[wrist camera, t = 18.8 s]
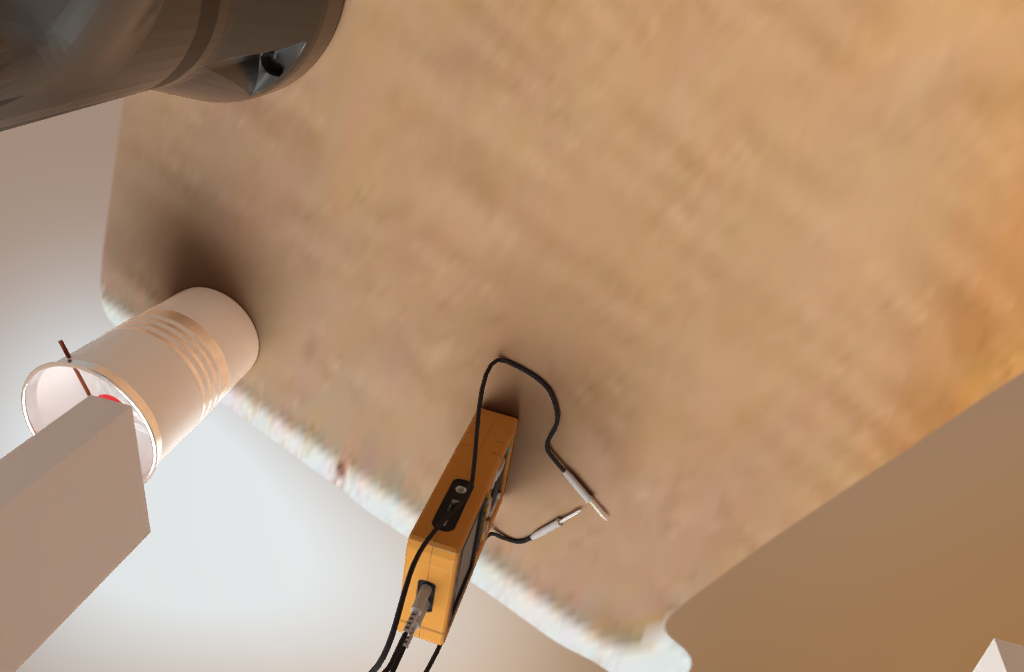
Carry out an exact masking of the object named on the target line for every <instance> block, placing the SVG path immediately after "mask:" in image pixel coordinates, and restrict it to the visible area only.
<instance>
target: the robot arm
mask: <svg viewBox="0 0 1024 672" xmlns="http://www.w3.org/2000/svg"><path fill="white" fill-rule="evenodd" d="M343 2H344V0H0V132H1V131H4V130H8V129H11V128H15V127H18V126H22V125H26V124H29V123H33V122H36V121H40V120H43V119H47V118H51V117H54V116H57V115H61V114H65V113H68V112H72V111H75V110H79V109H83V108H86V107H90V106H93V105H97V104H101V103H104V102H108V101H111V100H115V99H118V98H122V97H126V96H129V95H133V94H136V93H139V92H143V91H147V90H154V91H159V92H163V93H168V94H173V95H177V96H182V97H186V98H191V99H195V100H200V101H207V102H218V103H219V102H238V101H244V100H249V99H253V98H256V97H259V96H262V95H265V94H268V93H271V92H274V91H276V90H279V89H281V88H283V87H285V86H287V85H289V84H291V83H293V82H294V81H296V80H297V79H299V78H300V77H301V76H302V75H304V74H305V73H306V72H307V71H308V70H309V69H310V68H311V67H312V66H313V65H314V64H315V63H316V61H317V60H318V59H319V58H320V56H321V55H322V54H323V52H324V51H325V49H326V47H327V46H328V44H329V42H330V40H331V38H332V36H333V34H334V32H335V29H336V27H337V24H338V21H339V18H340V15H341V11H342V7H343ZM149 533H150V525H149V519H148V512H147V505H146V498H145V491H144V485H143V478H142V471H141V464H140V457H139V451H138V444H137V437H136V430H135V423H134V417H133V410H132V406H131V405H127V404H123V403H119V402H116V401H112V400H108V399H105V398H101V397H97V396H94V395H89V396H88V397H86V398H85V399H84V400H82V401H81V402H79V403H78V404H77V405H75V406H74V407H73V408H71V409H70V410H68V411H67V412H66V413H64V414H63V415H61V416H60V417H59V418H57V419H56V420H54V421H53V422H52V423H50V424H49V425H47V426H46V427H45V428H43V429H42V430H41V431H39V432H38V433H36V434H35V435H34V436H32V437H31V438H29V439H28V440H27V441H25V442H24V443H23V444H21V445H20V446H18V447H17V448H15V449H14V450H13V451H11V452H10V453H9V454H7V455H6V456H4V457H3V458H2V459H0V672H15V671H16V670H17V669H18V668H19V667H20V666H21V665H22V664H23V663H24V662H25V661H26V660H27V659H28V658H29V657H30V656H31V655H32V654H33V653H34V652H35V650H36V649H37V648H38V647H39V646H40V645H41V644H42V643H43V642H44V641H45V640H46V639H47V638H48V637H49V636H50V635H51V634H52V633H53V632H54V631H55V630H56V629H57V628H58V627H59V626H60V625H61V624H62V623H63V622H64V621H65V620H66V618H68V617H69V615H70V614H71V613H72V612H73V611H74V610H75V609H76V608H77V607H78V606H79V605H80V604H81V603H82V602H83V601H84V600H85V599H86V598H87V597H88V596H89V595H90V594H91V593H92V592H93V591H94V590H95V589H96V588H97V586H99V584H101V583H102V582H103V581H104V579H105V578H106V577H107V576H108V575H109V574H110V573H111V572H112V571H113V570H114V569H115V568H116V567H117V566H118V565H119V564H120V563H121V562H122V561H123V560H124V559H125V558H126V557H127V556H128V555H129V554H130V553H131V552H132V550H134V549H135V548H136V547H137V545H138V544H139V543H140V542H141V541H142V540H143V539H144V538H145V537H146V536H147V535H148V534H149ZM973 672H1024V646H1021V645H1017V644H1014V643H1010V642H1006V641H1003V640H999V639H995V638H994V639H993V641H992V642H991V644H990V645H989V647H988V649H987V650H986V652H985V654H984V655H983V657H982V658H981V660H980V661H979V663H978V664H977V666H976V667H975V669H974V671H973Z"/></svg>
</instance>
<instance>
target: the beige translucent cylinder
mask: <svg viewBox="0 0 1024 672" xmlns="http://www.w3.org/2000/svg"><path fill="white" fill-rule="evenodd" d="M59 344H60V346H61V347H62V349H63V351H64V353H65V355H66V357H64V358H62V359H60V360H58V361H57V362H51V363H47V364H44V365H41V366H39V367H37V368H36V369H34V370H33V371H32V372H31V373H30V374H29V375H28V377H27V378H26V380H25V382H24V385H23V388H22V396H21V400H22V401H21V402H22V409H23V414H24V417H25V420H26V422H27V425H28V427H29V429H30V431H31V433H32V435H33V436H34V435H35V434H36V433H38V432H39V431H41V430H42V429H43V428H45V427H46V426H47V425H49V424H50V423H52V422H53V421H54V420H56V419H57V418H59V417H60V416H61V415H63V414H64V413H66V412H67V411H68V410H70V409H71V408H73V407H74V406H75V405H77V404H78V403H79V402H81V401H82V400H84V399H85V398H86V397H88V396H89V395H94V396H97V397H101V398H105V399H108V400H112V401H116V402H119V403H123V404H127V405H131V406H132V410H133V417H134V423H135V430H136V437H137V444H138V451H139V457H140V464H141V471H142V478H143V484H145V483H146V482H147V481H148V480H149V479H150V478H151V476H152V475H153V473H154V471H155V469H156V466H157V465H158V464H159V463H160V462H161V461H162V460H163V458H165V457H166V455H167V454H168V453H169V452H170V451H171V450H172V449H173V448H174V447H175V446H176V445H177V444H178V443H179V442H180V441H181V440H182V439H183V438H185V437H186V436H187V435H188V434H189V433H190V432H191V431H192V430H193V429H194V428H195V427H196V426H197V425H198V424H199V423H200V422H201V421H202V420H203V419H204V418H205V417H206V416H207V415H208V414H209V412H211V411H212V410H213V409H214V408H215V406H216V405H217V404H218V403H219V402H220V400H221V399H222V398H223V397H224V396H225V395H226V394H227V393H228V392H229V391H230V390H231V389H232V388H233V386H234V385H235V384H236V383H237V382H238V381H239V380H240V379H241V378H242V377H243V376H244V375H245V374H246V373H247V372H248V371H249V370H250V369H251V368H252V366H253V365H254V363H255V361H256V359H257V357H258V352H259V340H258V335H257V332H256V329H255V327H254V324H253V322H252V321H251V319H250V317H249V316H248V314H247V313H246V312H245V311H244V309H243V308H242V307H241V306H240V305H239V304H238V303H236V302H235V301H234V300H233V299H231V298H230V297H229V296H227V295H225V294H223V293H221V292H219V291H217V290H214V289H211V288H206V287H193V288H188V289H186V290H183V291H181V292H179V293H177V294H176V295H174V296H172V297H170V298H168V299H167V300H165V301H163V302H161V303H160V304H158V305H156V306H154V307H152V308H150V309H149V310H147V311H145V312H143V313H141V314H139V315H137V316H135V317H133V318H131V319H129V320H127V321H126V322H124V323H122V324H120V325H119V326H117V327H115V328H113V329H112V330H110V331H108V332H106V333H104V334H102V335H101V336H99V337H98V338H96V339H95V340H93V341H92V342H90V343H88V344H87V345H85V346H83V347H81V348H80V349H78V350H76V351H74V352H73V353H71V354H69V352H68V350H67V348H66V346H65V344H64V342H63V341H62V340H61V341H59Z"/></svg>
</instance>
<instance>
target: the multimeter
mask: <svg viewBox="0 0 1024 672" xmlns="http://www.w3.org/2000/svg"><path fill="white" fill-rule="evenodd" d="M497 362H502V363H507V364H509V365H511V366H513V367H515V368H517V369H519V370H521V371H523V372H524V373H526V374H528V375H529V376H531V377H532V378H534V379H535V380H537V381H538V382H539V383H540V384H541V385H542V386H543V387H544V388H545V389H546V390H547V392H548V393H549V395H550V397H551V400H552V402H553V406H554V410H555V417H556V419H555V425H554V428H553V429H552V431H551V433H550V434H549V436H548V438H547V440H546V443H545V449H546V452H547V454H548V455H549V457H550V458H551V459H552V460H553V462H554V463H555V464H556V465H557V467H558V468H559V469H560V470H561V471H562V472H563V474H564V476H565V477H566V479H567V480H568V481H569V483H570V484H571V485H572V486H573V487H574V488H575V489H576V491H577V492H578V493H579V494H580V495H581V496H582V498H583V499H584V500H585V503H589V502H590V504H591V505H592V506H593V507H594V508H595V509H596V511H597V512H598V513H599V514H600V515H601V516H602V518H604V519H605V520H606V521H607V519H606V517H605V515H604V514H603V513H602V512H601V511H600V510H599V508H598V507H597V506H596V505H595V504H594V503H593V502H592V499H593V497H592V496H590V495H589V493H588V492H587V491H586V490H585V489H584V488H583V486H582V485H581V484H580V483H579V482H578V481H577V479H576V478H575V477H574V476H573V475H572V474H571V473H570V472H569V471H568V470H566V469H565V468H564V467H563V466H562V465H561V464H560V463H559V462H558V460H557V459H556V458H555V457H554V455H553V454H552V453H551V451H550V449H549V442H550V440H551V438H552V437H553V435H554V433H555V432H556V430H557V427H558V424H559V410H558V406H557V402H556V399H555V396H554V394H553V392H552V390H551V389H550V388H549V386H548V385H547V384H546V383H545V382H544V381H543V380H542V379H541V378H539V377H538V376H537V375H535V374H534V373H532V372H531V371H529V370H527V369H526V368H524V367H522V366H520V365H518V364H516V363H514V362H512V361H510V360H508V359H502V358H497V359H495V360H494V361H493V362H491V363H490V364H489V366H488V368H487V369H486V371H485V373H484V376H483V380H482V383H481V387H480V392H479V398H478V405H477V411H476V413H475V415H474V417H473V419H472V421H471V423H470V424H469V426H468V428H467V430H466V432H465V434H464V435H463V437H462V439H461V441H460V443H459V445H458V446H457V448H456V450H455V452H454V454H453V456H452V457H451V459H450V461H449V463H448V465H447V467H446V469H445V470H444V472H443V474H442V476H441V478H440V480H439V482H438V483H437V485H436V487H435V489H434V491H433V493H432V495H431V497H430V498H429V500H428V502H427V504H426V506H425V508H424V510H423V511H422V513H421V515H420V517H419V519H418V521H417V523H416V524H415V526H414V528H413V530H412V532H411V534H410V536H409V539H408V543H407V549H406V558H405V566H404V575H403V583H402V591H401V596H400V600H399V603H398V607H397V611H396V614H395V618H394V621H393V624H392V628H391V631H390V634H389V637H388V639H387V642H386V645H385V647H384V650H383V652H382V654H381V656H380V657H379V659H378V661H377V662H376V664H375V665H374V666H373V667H372V669H371V670H370V671H369V672H377V671H378V670H379V668H380V667H381V665H382V664H383V662H384V660H385V659H386V657H387V655H388V652H389V650H390V648H391V645H392V643H393V640H394V637H395V634H396V630H397V629H398V630H399V632H402V636H401V638H400V640H399V643H398V645H397V647H396V649H395V651H394V653H393V655H392V658H391V660H390V662H389V663H388V665H387V667H386V668H385V669H384V670H383V671H382V672H389V671H390V670H391V671H390V672H395V671H396V669H397V667H398V665H399V662H400V660H401V658H402V656H403V654H404V651H405V650H407V649H408V645H409V644H410V641H411V640H412V638H413V636H415V637H418V638H421V639H424V640H427V641H430V642H433V643H435V644H438V646H437V648H436V650H435V652H434V654H433V656H432V657H431V659H430V661H429V663H428V665H427V667H426V669H425V670H424V672H429V670H430V669H431V667H432V664H433V663H434V661H435V659H436V657H437V655H438V653H439V651H440V649H441V647H442V645H443V644H444V642H445V640H446V637H447V634H448V632H449V630H450V627H451V625H452V622H453V620H454V617H455V615H456V613H457V610H458V608H459V605H460V602H461V600H462V598H463V595H464V593H465V590H466V588H467V585H468V583H469V581H470V578H471V576H472V573H473V571H474V568H475V566H476V563H477V561H478V558H479V556H480V553H481V551H482V548H483V546H484V544H485V541H486V540H487V538H488V537H490V536H491V535H492V536H496V537H498V538H500V539H502V540H505V541H508V542H511V543H516V544H522V543H526V542H528V541H530V540H534V539H537V538H539V537H541V536H543V535H545V534H547V533H548V532H550V531H552V530H554V529H555V528H557V527H561V526H562V525H563V523H562V522H564V521H565V520H567V519H569V518H571V517H572V516H574V515H576V514H578V513H579V512H580V511H581V510H578V511H575V512H574V513H572V514H570V515H568V516H567V517H565V518H563V519H560V518H557V519H556V520H555V521H553V522H551V523H550V524H548V525H546V526H544V527H543V528H541V529H539V530H537V531H536V532H534V533H533V534H532V535H531V536H530V537H528V538H526V539H523V540H514V539H510V538H507V537H504V536H502V535H500V534H498V533H494V532H490V533H489V531H490V529H491V526H492V524H493V521H494V519H495V516H496V514H497V511H498V509H499V506H500V504H501V501H502V498H503V494H504V490H505V483H506V478H507V473H508V468H509V463H510V458H511V453H512V448H513V443H514V438H515V433H516V430H517V425H518V420H517V419H516V418H514V417H510V416H507V415H503V414H499V413H496V412H492V411H489V410H485V409H482V408H481V407H482V400H483V394H484V388H485V385H486V381H487V377H488V374H489V372H490V370H491V368H492V366H493V365H495V364H496V363H497Z"/></svg>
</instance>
